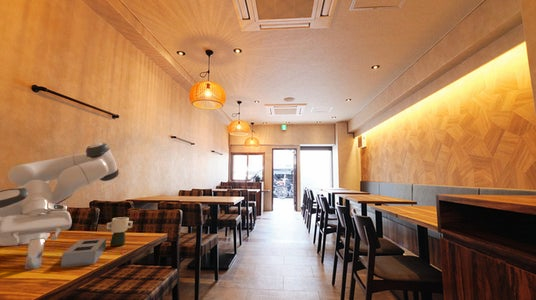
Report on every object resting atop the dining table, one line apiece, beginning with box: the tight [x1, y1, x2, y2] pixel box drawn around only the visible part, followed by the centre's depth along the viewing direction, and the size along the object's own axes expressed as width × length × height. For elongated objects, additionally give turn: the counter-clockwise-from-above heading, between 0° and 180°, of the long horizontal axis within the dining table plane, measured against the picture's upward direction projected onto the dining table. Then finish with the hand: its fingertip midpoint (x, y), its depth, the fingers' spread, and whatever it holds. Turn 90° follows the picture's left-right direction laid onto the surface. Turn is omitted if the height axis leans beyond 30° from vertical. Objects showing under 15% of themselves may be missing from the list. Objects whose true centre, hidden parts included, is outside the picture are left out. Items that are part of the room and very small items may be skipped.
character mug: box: [105, 216, 134, 247], centre depth 112 cm, size 11×7×13 cm, turn 122°
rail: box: [60, 237, 107, 269], centre depth 93 cm, size 20×10×5 cm, turn 26°
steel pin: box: [24, 238, 46, 271], centre depth 82 cm, size 4×4×10 cm
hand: (37, 241), depth 85 cm, fingers open, 8 cm apart
